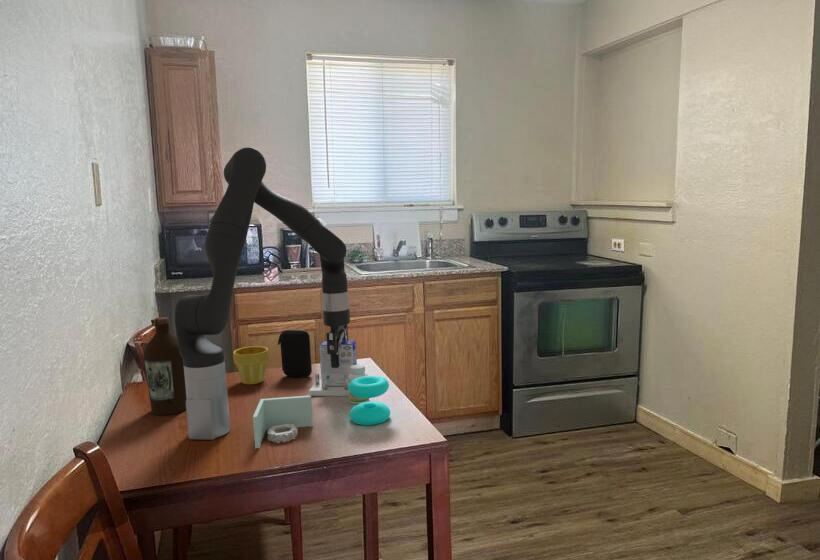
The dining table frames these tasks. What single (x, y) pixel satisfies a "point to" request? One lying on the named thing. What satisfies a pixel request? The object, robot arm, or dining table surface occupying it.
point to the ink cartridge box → (339, 363)
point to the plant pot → (251, 363)
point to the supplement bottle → (355, 373)
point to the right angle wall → (281, 418)
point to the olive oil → (165, 371)
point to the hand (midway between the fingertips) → (339, 363)
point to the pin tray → (328, 388)
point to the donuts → (369, 410)
